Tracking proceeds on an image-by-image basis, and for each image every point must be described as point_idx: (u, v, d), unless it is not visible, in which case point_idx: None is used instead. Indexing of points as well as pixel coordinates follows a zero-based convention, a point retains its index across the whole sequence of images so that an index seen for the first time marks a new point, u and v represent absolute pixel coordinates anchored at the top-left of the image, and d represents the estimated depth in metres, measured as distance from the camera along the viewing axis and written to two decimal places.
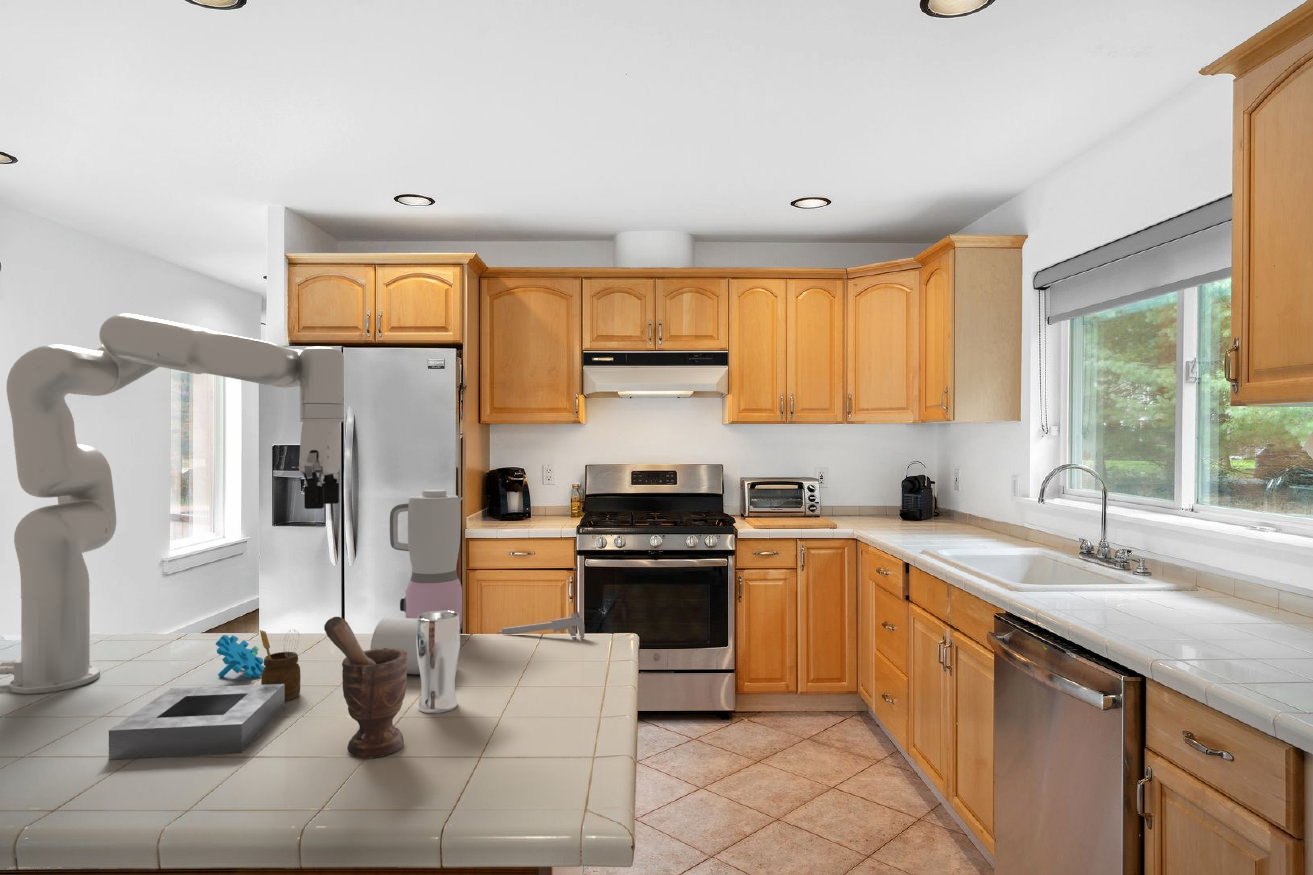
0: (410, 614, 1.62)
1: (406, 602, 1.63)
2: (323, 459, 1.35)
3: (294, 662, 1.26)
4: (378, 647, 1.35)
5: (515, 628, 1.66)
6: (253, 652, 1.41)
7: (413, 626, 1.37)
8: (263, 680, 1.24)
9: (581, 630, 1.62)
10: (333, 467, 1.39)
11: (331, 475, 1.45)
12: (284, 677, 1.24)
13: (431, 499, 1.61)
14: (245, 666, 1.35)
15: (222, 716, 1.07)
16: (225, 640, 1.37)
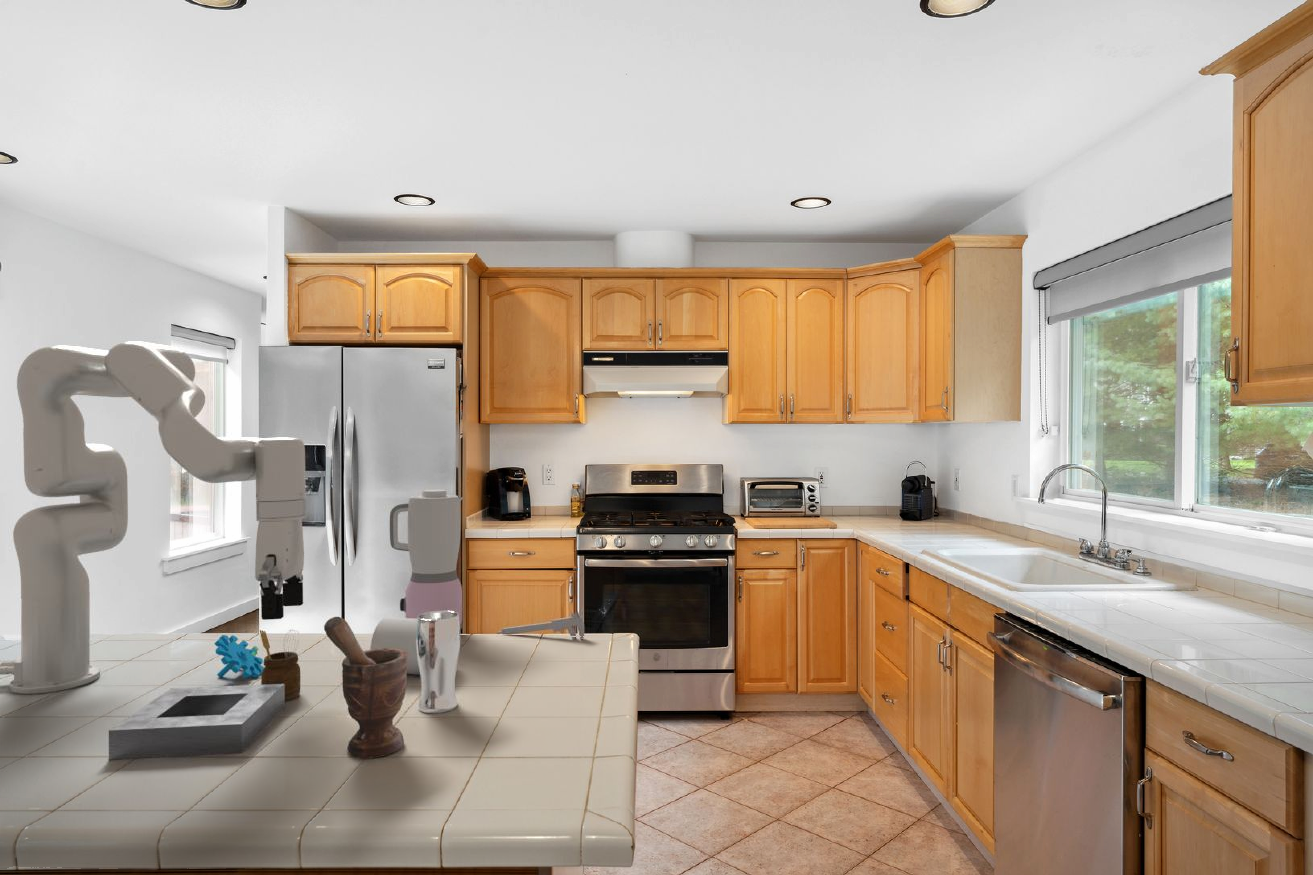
0: (410, 614, 1.62)
1: (406, 602, 1.63)
2: (282, 563, 1.21)
3: (294, 662, 1.26)
4: (378, 647, 1.35)
5: (515, 628, 1.66)
6: (252, 652, 1.41)
7: (413, 626, 1.37)
8: (263, 680, 1.24)
9: (581, 630, 1.62)
10: (294, 569, 1.26)
11: None
12: (284, 677, 1.24)
13: (431, 499, 1.61)
14: (244, 666, 1.35)
15: (222, 716, 1.07)
16: (224, 640, 1.37)
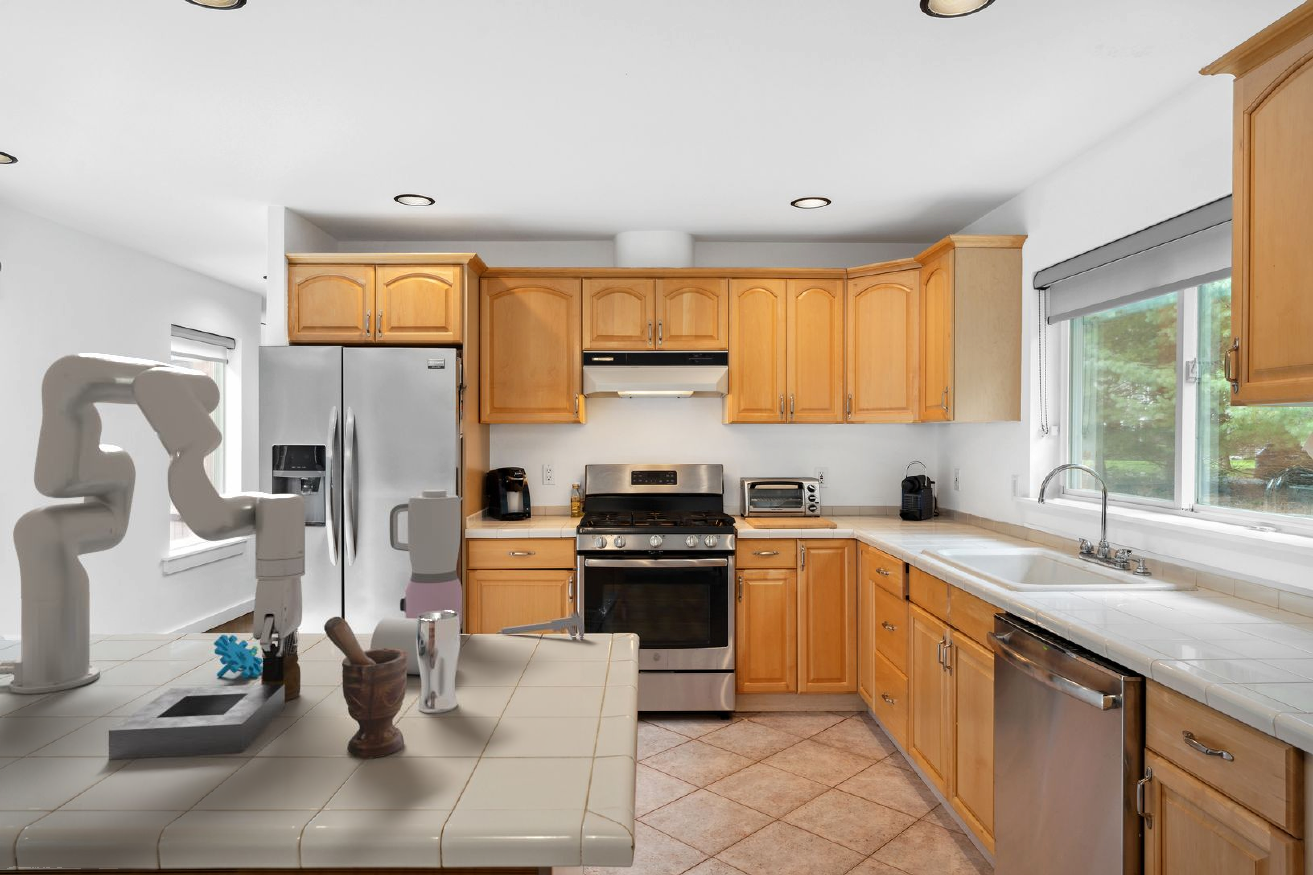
0: (410, 614, 1.62)
1: (406, 602, 1.63)
2: (280, 622, 1.21)
3: (294, 662, 1.26)
4: (378, 647, 1.35)
5: (515, 628, 1.66)
6: (252, 652, 1.41)
7: (413, 626, 1.37)
8: None
9: (581, 630, 1.62)
10: (292, 626, 1.26)
11: (288, 636, 1.30)
12: (284, 676, 1.24)
13: (431, 499, 1.61)
14: (243, 666, 1.35)
15: (222, 716, 1.07)
16: (224, 640, 1.37)
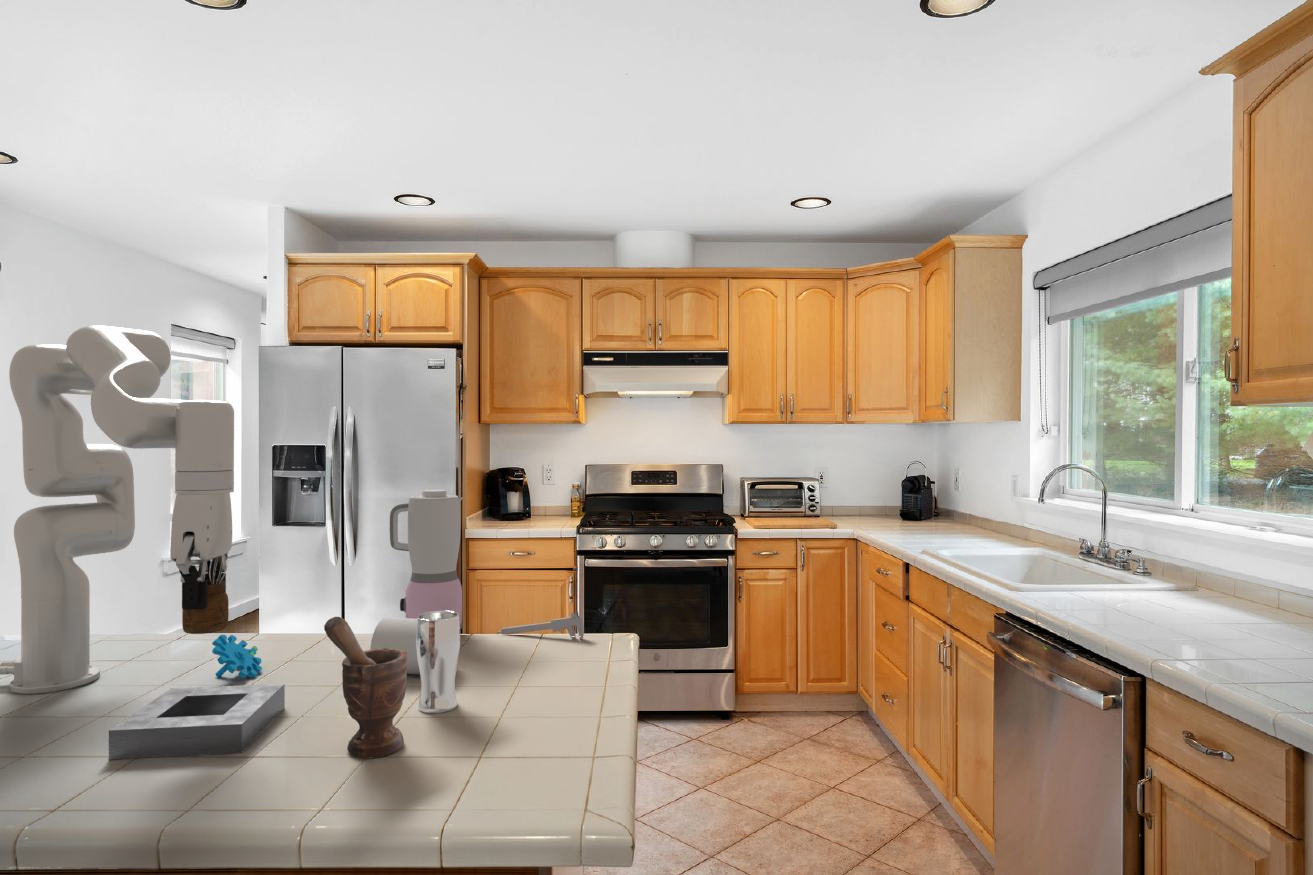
0: (410, 614, 1.62)
1: (406, 602, 1.63)
2: (201, 542, 1.07)
3: (220, 590, 1.11)
4: (378, 647, 1.35)
5: (514, 628, 1.66)
6: (251, 652, 1.41)
7: (413, 626, 1.37)
8: None
9: (580, 630, 1.62)
10: (218, 549, 1.11)
11: None
12: (207, 605, 1.09)
13: (431, 499, 1.61)
14: (241, 666, 1.35)
15: (222, 716, 1.07)
16: (222, 640, 1.37)
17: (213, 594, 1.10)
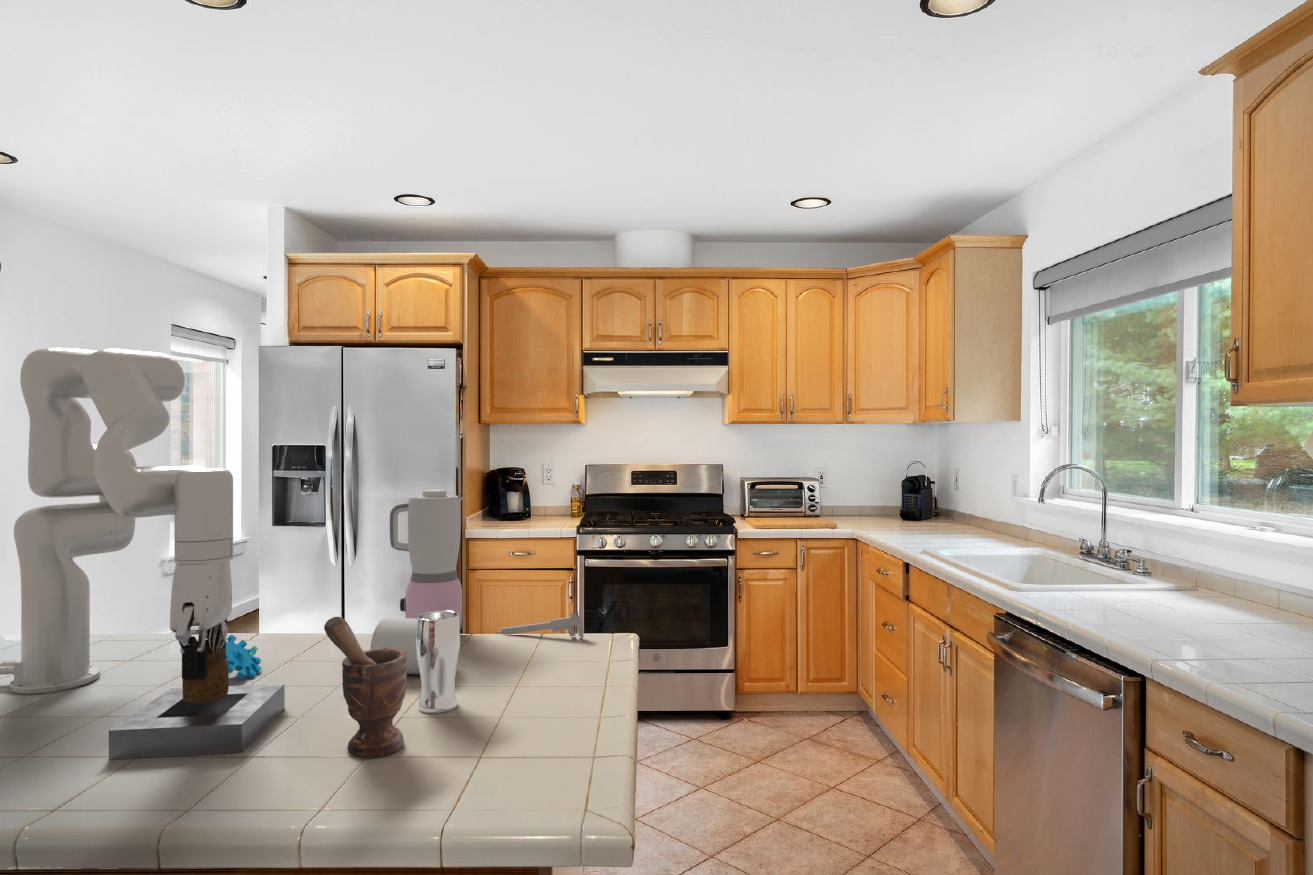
0: (410, 614, 1.62)
1: (406, 602, 1.63)
2: (201, 613, 1.07)
3: (220, 658, 1.11)
4: (378, 647, 1.35)
5: (514, 628, 1.66)
6: (251, 652, 1.41)
7: (413, 626, 1.37)
8: None
9: (580, 630, 1.62)
10: (218, 617, 1.11)
11: (216, 629, 1.15)
12: (207, 674, 1.09)
13: (431, 499, 1.61)
14: (239, 666, 1.35)
15: (222, 716, 1.07)
16: None
17: (213, 663, 1.10)
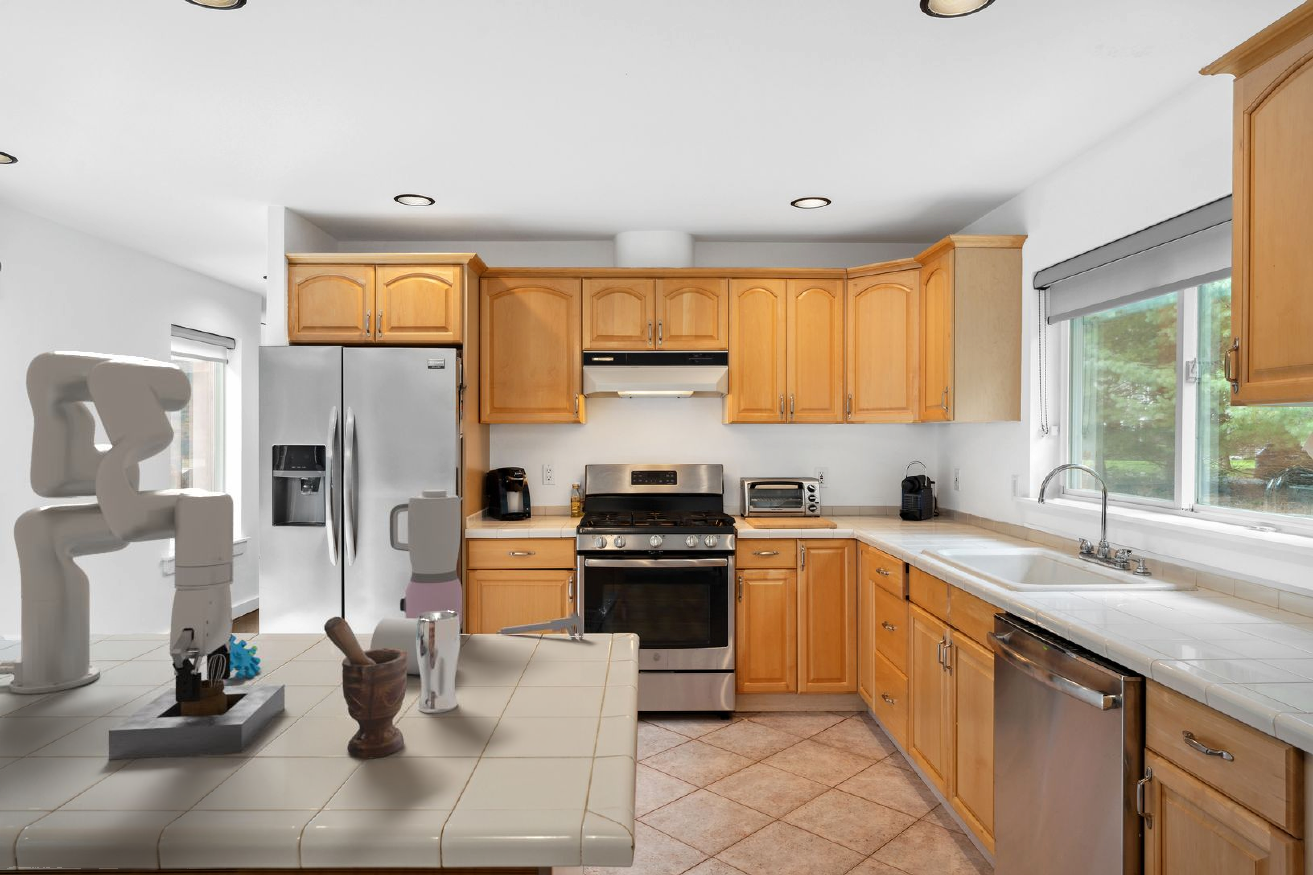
0: (410, 614, 1.62)
1: (406, 602, 1.63)
2: (201, 638, 1.07)
3: (219, 691, 1.11)
4: (378, 647, 1.35)
5: (514, 628, 1.66)
6: (250, 652, 1.41)
7: (413, 626, 1.37)
8: (182, 712, 1.09)
9: (580, 630, 1.62)
10: (217, 642, 1.11)
11: None
12: (206, 708, 1.09)
13: (431, 499, 1.61)
14: (238, 666, 1.35)
15: (222, 716, 1.07)
16: None
17: (211, 696, 1.10)
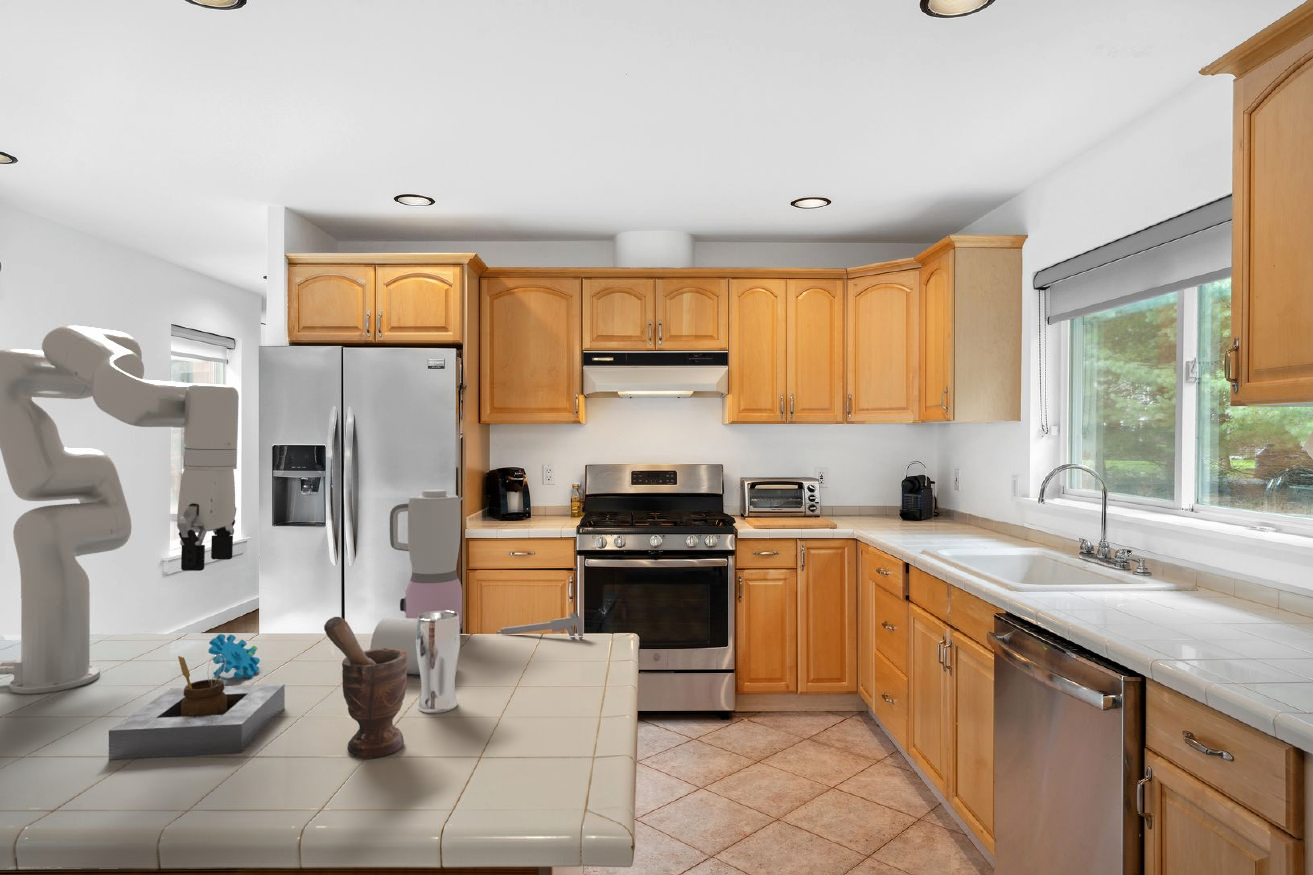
0: (410, 614, 1.62)
1: (406, 602, 1.63)
2: (205, 513, 1.17)
3: (219, 692, 1.11)
4: (378, 647, 1.35)
5: (514, 628, 1.66)
6: (250, 652, 1.41)
7: (413, 626, 1.37)
8: (182, 713, 1.09)
9: (580, 630, 1.62)
10: (221, 521, 1.22)
11: (225, 527, 1.27)
12: (206, 709, 1.09)
13: (431, 499, 1.61)
14: (237, 666, 1.35)
15: (222, 716, 1.07)
16: (220, 639, 1.37)
17: (211, 697, 1.10)
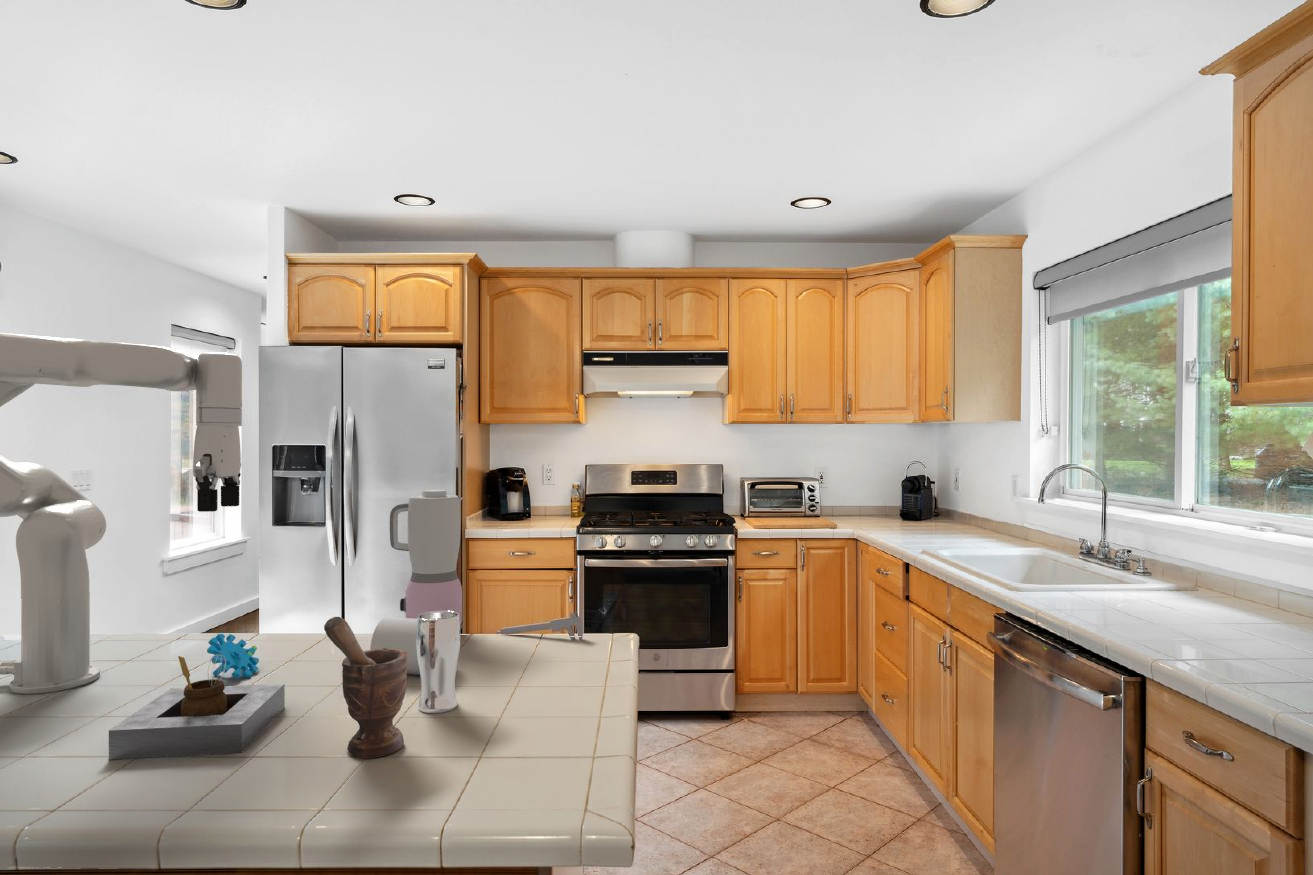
0: (410, 614, 1.62)
1: (406, 602, 1.63)
2: (217, 462, 1.37)
3: (219, 692, 1.11)
4: (378, 647, 1.35)
5: (514, 628, 1.66)
6: (249, 652, 1.41)
7: (413, 626, 1.37)
8: (182, 713, 1.09)
9: (579, 630, 1.62)
10: (229, 470, 1.41)
11: (232, 478, 1.47)
12: (206, 709, 1.09)
13: (431, 499, 1.61)
14: (235, 666, 1.35)
15: (222, 716, 1.07)
16: (220, 639, 1.38)
17: (211, 697, 1.10)
